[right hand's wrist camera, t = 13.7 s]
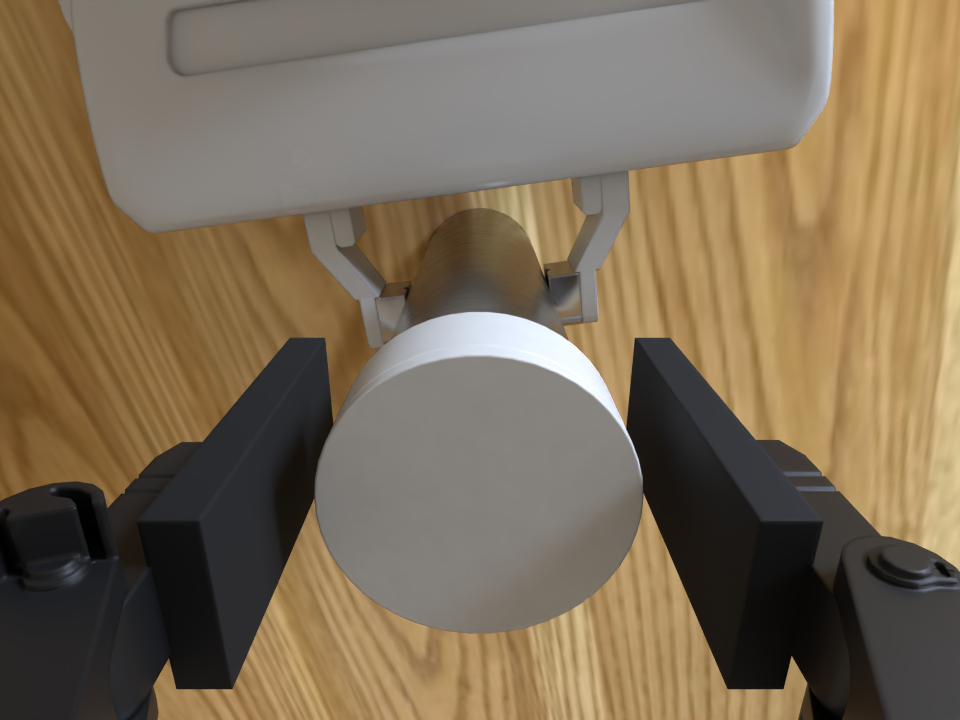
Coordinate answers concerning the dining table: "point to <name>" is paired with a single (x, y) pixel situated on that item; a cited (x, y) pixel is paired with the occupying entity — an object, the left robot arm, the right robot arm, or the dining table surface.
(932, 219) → the dining table surface
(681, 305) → the dining table surface
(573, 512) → the lid
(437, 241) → the brown metallic tall cylinder
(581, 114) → the left robot arm
